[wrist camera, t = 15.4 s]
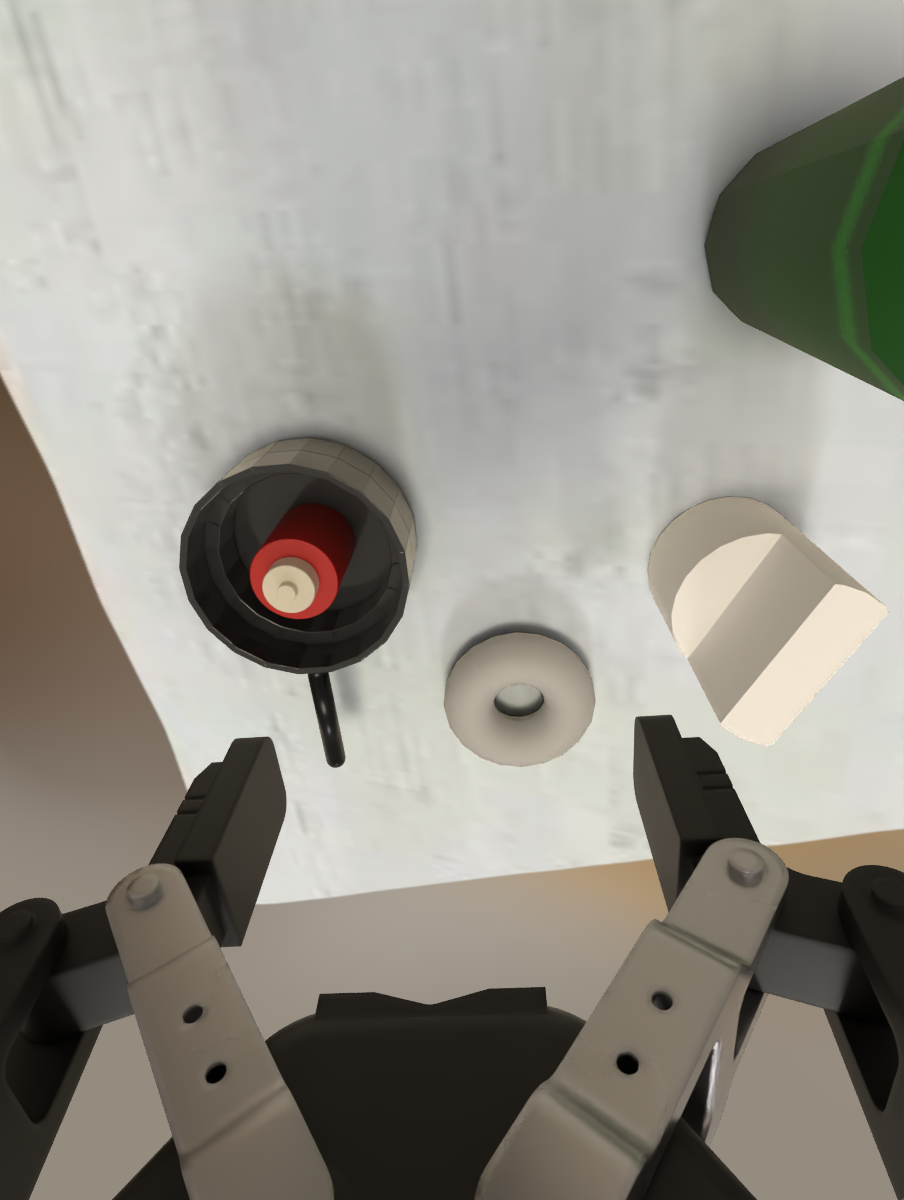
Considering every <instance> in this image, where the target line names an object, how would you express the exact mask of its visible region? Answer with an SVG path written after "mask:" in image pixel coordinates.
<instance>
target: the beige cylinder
mask: <svg viewBox="0 0 904 1200" xmlns="http://www.w3.org/2000/svg"><path fill="white" fill-rule="evenodd" d="M648 580H649V588H650V590H651V592H652V595H653V597H654V600H655V602H656V604H657V606H658V608H659V610H660V612H661V614H662V616H663V618H664V620H665V622H666V624H667V626H668V628H669V630H670V632H671V634H672V636H673V638H674V640H675V642H676V644H677V646H678V648H679V650H680V651H681V652H682V653H683V654H684V656H685V657H686V658H687V659H688V661H689V663H690V665H691V667H692V669H693V671H694V673H695V675H696V677H697V679H698V680H699V682H700V684H701V686H702V688H703V690H704V692H705V694H706V696H707V698H708V700H709V702H710V704H711V706H712V708H713V710H714V712H715V714H716V716H717V718H718V720H719V721H720V723H721V725H722V726H723V727H724V728H725V729H727V730H728V731H730V732H732V733H733V734H735V735H737V736H738V737H740V738H741V739H744V740H747V741H750V742H753V743H757V744H760V745H763V746H771V745H772V744H773V743H774V742H775V741H776V740H777V739H778V738H779V736H780V735H781V734H782V733H783V732H784V731H785V730H786V728H787V727H788V726H789V725H790V724H791V723H792V722H793V721H794V719H795V718H796V717H797V716H798V715H799V714H800V713H801V711H802V710H803V709H804V708H805V707H806V706H807V705H808V703H809V702H810V701H811V700H812V699H813V698H814V697H815V696H816V694H817V693H818V692H819V691H820V690H821V689H822V688H823V686H824V685H825V684H826V683H827V682H828V681H829V680H830V679H831V677H832V676H833V675H834V674H835V673H836V672H837V671H838V669H839V668H840V667H841V666H842V665H843V664H844V663H845V661H846V660H847V659H848V658H849V657H850V656H851V655H852V654H853V652H854V651H855V650H856V649H857V648H858V647H859V646H860V644H861V643H862V642H863V641H864V640H865V639H866V638H867V637H868V635H869V634H870V633H871V632H872V631H873V630H874V629H875V627H876V626H877V625H878V624H879V623H880V622H881V621H882V619H883V618H884V617H885V616H886V615H887V614H888V613H889V611H888V609H887V608H886V606H885V605H883V604H882V603H881V602H880V601H879V600H878V599H877V598H875V597H874V596H873V595H872V594H871V593H870V592H869V591H867V590H866V589H865V588H864V587H863V586H862V585H861V584H859V583H858V582H857V581H856V580H855V579H854V578H853V577H851V576H850V575H849V574H848V573H847V572H846V571H845V570H843V569H842V568H841V567H840V566H839V565H838V564H837V563H835V562H834V561H833V560H832V559H831V558H830V557H829V556H828V555H826V554H825V553H824V552H823V551H822V550H821V549H820V548H818V547H817V546H816V545H815V544H814V543H813V542H812V541H810V540H809V539H808V538H807V537H806V536H805V535H804V534H802V533H801V532H800V531H799V530H798V529H797V528H796V527H794V526H793V525H792V524H791V523H790V522H789V521H788V520H786V519H785V518H784V517H783V516H782V515H781V514H779V513H778V512H777V511H775V510H774V509H772V508H771V507H770V506H768V505H767V504H765V503H762V502H759V501H756V500H753V499H750V498H742V497H724V498H718V499H713V500H708V501H706V502H703V503H701V504H699V505H696V506H694V507H692V508H689V509H688V510H687V511H685V512H684V513H682V514H681V515H680V516H678V517H677V518H676V519H674V520H673V521H672V522H671V523H670V524H669V525H668V527H667V528H666V529H665V530H664V531H663V532H662V534H661V535H660V536H659V538H658V540H657V542H656V544H655V546H654V548H653V550H652V552H651V556H650V561H649V566H648Z"/></svg>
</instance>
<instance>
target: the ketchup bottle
mask: <svg viewBox="0 0 904 1200" xmlns="http://www.w3.org/2000/svg"><path fill="white" fill-rule="evenodd" d="M354 546H355V541H354V535H353V532H352V529H351V527H350V525H349V523H348V522H347V521H346V519H345V518H344V517H343V516H342V515H341V514H339V513H338V512H337V511H335V510H334V509H332V508H330V507H328V506H325V505H321V504H314V503H309V504H302V505H299V506H296V507H294V508H292V509H291V510H289V511H288V512H287V513H286V514H285V515H284V516H283V517H282V519H281V520H280V522H279V523H278V524H277V526H276V527H275V528H274V530H273V531H272V533H271V534H270V535H269V537H268V538H267V539H266V541H265V542H264V544H263V545H262V546H261V548H260V549H259V551H258V552H257V553H256V555H255V556H254V558H253V560H252V563H251V567H250V581H251V585H252V588H253V590H254V593H255V594H256V596H257V598H258V599H259V600H260V601H261V603H262V604H263V605H265V606H266V607H267V608H268V609H269V610H271V611H273V612H274V613H276V614H278V615H281V616H284V617H287V618H292V619H305V618H310V617H314V616H316V615H318V614H320V613H322V612H324V611H325V610H326V609H327V608H328V607H329V606H330V605H331V604H332V602H333V601H334V599H335V597H336V595H337V592H338V590H339V587H340V585H341V582H342V580H343V577H344V575H345V572H346V570H347V568H348V565H349V563H350V560H351V558H352V555H353V552H354Z"/></svg>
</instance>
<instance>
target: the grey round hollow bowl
mask: <svg viewBox="0 0 904 1200" xmlns="http://www.w3.org/2000/svg"><path fill="white" fill-rule="evenodd" d="M309 503H314V504H321V505H325V506H328V507H330V508H332V509H334V510H335V511H337V512H338V513H339V514H341V515H342V516H343V517H344V518H345V519H346V521H347V522H348V523H349V525H350V527H351V529H352V532H353V535H354V541H355V546H354V552H353V555H352V558H351V560H350V563H349V565H348V568H347V570H346V572H345V575H344V577H343V580H342V582H341V585H340V587H339V590H338V592H337V595H336V597H335V599H334V601H333V602H332V604H331V605H330V606H329V607H328V608H327V609H326V610H325V611H324V612H322V613H320V614H318V615H316V616H314V617H310V618H305V619H292V618H287V617H284V616H281V615H278V614H276V613H274V612H273V611H271V610H269V609H268V608H267V607H266V606H265V605H263V604H262V603H261V601H260V600H259V599H258V598H257V596H256V594H255V593H254V590H253V588H252V585H251V581H250V567H251V563H252V560H253V558H254V556H255V555H256V553H257V552H258V551H259V549H260V548H261V546H262V545H263V544H264V542H265V541H266V539H267V538H268V537H269V535H270V534H271V533H272V531H273V530H274V528H275V527H276V526H277V524H278V523H279V522H280V520H281V519H282V517H283V516H284V515H285V514H286V513H287V512H288V511H289V510H291V509H292V508H294V507H296V506H299V505H302V504H309ZM416 551H417V541H416V533H415V525H414V518H413V515H412V513H411V511H410V508H409V506H408V504H407V502H406V500H405V498H404V496H403V494H402V492H401V490H400V488H399V487H398V486H397V484H396V483H395V482H394V481H393V480H392V479H391V478H390V477H389V476H388V475H387V474H386V473H385V472H384V471H383V469H382V468H381V467H380V466H379V465H378V464H377V463H375V462H374V461H372V460H370V459H369V458H367V457H365V456H363V455H362V454H360V453H358V452H356V451H355V450H353V449H351V448H349V447H348V446H346V445H342V444H338V443H333V442H329V441H325V440H320V439H316V438H304V439H293V440H281V441H277V442H275V443H272V444H270V445H268V446H266V447H264V448H261V449H259V450H257V451H255V452H252V453H250V454H249V455H248V456H246V457H245V458H244V459H243V460H242V461H241V462H240V463H239V464H238V465H236V466H235V467H234V468H233V469H232V470H231V471H230V472H229V473H228V474H226V475H225V476H224V477H223V478H222V479H221V480H220V481H219V482H218V483H217V484H216V485H215V486H213V487H212V488H211V489H210V490H209V491H208V492H207V493H206V494H205V495H204V496H203V497H202V498H201V499H200V500H199V501H198V502H197V503H196V504H195V506H194V507H193V510H192V512H191V514H190V516H189V519H188V521H187V523H186V525H185V528H184V530H183V532H182V534H181V545H180V564H179V568H180V573H181V576H182V580H183V583H184V586H185V590H186V593H187V597H188V600H189V602H190V604H191V605H192V607H193V608H194V610H195V611H196V613H197V614H198V616H199V617H200V619H201V620H202V622H203V623H204V625H205V626H206V628H207V629H208V630H209V631H210V632H211V633H212V634H214V635H215V636H216V637H217V638H218V639H219V640H220V641H222V642H223V643H224V644H225V645H226V646H227V647H229V648H230V649H231V650H232V651H233V652H235V653H237V654H239V655H241V656H243V657H245V658H247V659H249V660H251V661H253V662H255V663H257V664H259V665H261V666H263V667H266V668H271V669H276V670H281V671H285V672H290V673H295V674H308V673H324V672H333V671H336V670H338V669H341V668H344V667H347V666H349V665H352V664H355V663H358V662H360V661H362V660H364V659H365V658H366V657H367V656H369V655H370V654H371V653H373V652H374V651H375V650H376V649H378V648H379V647H380V646H382V645H383V644H384V643H385V642H386V641H387V640H388V638H389V637H390V635H391V634H392V632H393V630H394V629H395V627H396V626H397V624H398V623H399V621H400V619H401V618H402V616H403V613H404V608H405V604H406V599H407V594H408V590H409V585H410V580H411V575H412V570H413V565H414V560H415V556H416Z"/></svg>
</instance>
